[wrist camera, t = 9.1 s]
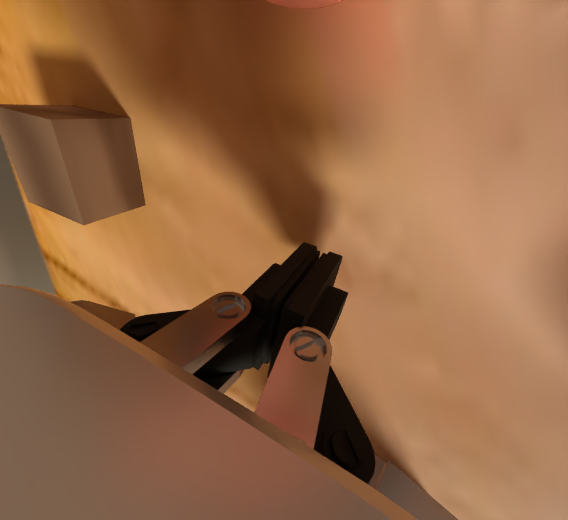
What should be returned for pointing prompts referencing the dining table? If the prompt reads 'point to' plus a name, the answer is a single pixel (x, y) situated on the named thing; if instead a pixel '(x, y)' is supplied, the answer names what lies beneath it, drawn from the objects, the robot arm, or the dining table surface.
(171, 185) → the dining table surface
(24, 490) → the robot arm
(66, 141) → the metal block
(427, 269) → the dining table surface
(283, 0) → the pottery
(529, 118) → the dining table surface
